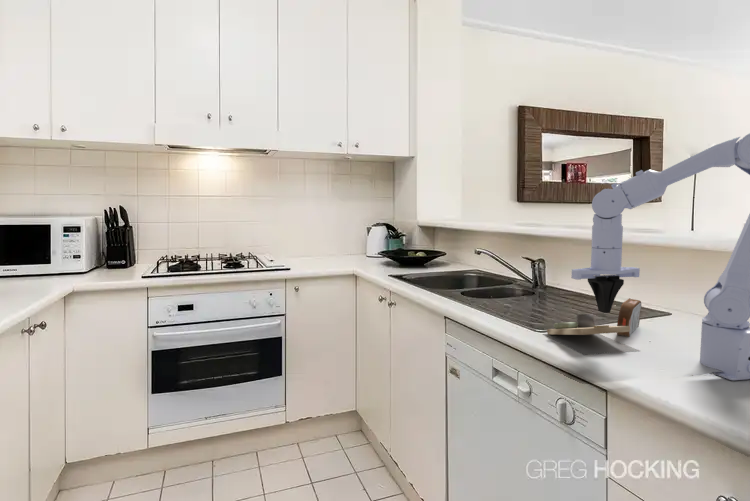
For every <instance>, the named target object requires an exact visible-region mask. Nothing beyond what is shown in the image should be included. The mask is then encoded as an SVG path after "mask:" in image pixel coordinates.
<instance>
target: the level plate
mask: <svg viewBox="0 0 750 501" xmlns="http://www.w3.org/2000/svg"><path fill="white" fill-rule="evenodd" d="M576 320H577V321H569V322H568V321H566V322H555V323H553V328H547V329H546V332H547V333H546V334H557V335H587V334H601V335H603V334H617V333H618V332H630V328H629V326H617V325H616V326H615V325H613V326H611V325H608V324H606V325H595V317H594V313H586V314H585V313H583V314H581V313H580V314H576Z"/></svg>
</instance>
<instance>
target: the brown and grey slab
mask: <svg viewBox="0 0 750 501" xmlns="http://www.w3.org/2000/svg"><path fill="white" fill-rule="evenodd" d="M641 309H642V301H641V300H638V299H636V298H635V299H634V298H627V299H626V300H625V301H624V302H622V304H621V305H620V308H619V312H618V315H617V316H618V317H617V324H616V326H629V328H630V332H618V333H616V335H617V336H621V337H627V338H629V337H630V336H631V335H632V333H634V331H635V330H636V329H637V328H639V326H640V317H641V315H640V314H641Z"/></svg>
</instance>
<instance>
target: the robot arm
mask: <svg viewBox="0 0 750 501" xmlns="http://www.w3.org/2000/svg"><path fill="white" fill-rule="evenodd" d="M740 138H741V136H738V137H735V138H732V139H729V140H725V141H723V142H721V143H717V144H714V145H712V146H710V147H708V148H706V149H704V150H702V151H700V152H698V153H696V154H694V155H692V156H690V157H687V158H686V159H684V160H682V161H680V162H677V163H676V164H673V165H672V166H670V167H668V168H666V169H663V170H661V171H657V170H653V169H647V170H645V171H644V170H642V169H640V170H639V171H636V172H635V176H632V177H630V178H628V179H625V180H624V181H621V182H620V183H617V182H614V183H612V184H611V188H603V189H602V190H601V191H599V192H598V193H596V194H595V195H594V197H593V198H592V202H591V208H592V210H593V212H594V214H593V217H592V221H593V222H592V223H593V225H592V227H591V255H590V267H584V268H573V269H571V279H573V280H577V281H578V280H580V281H581V280H585V279H587V283H588V285H589V286H590V288H591V290H592V292H593V295H594V298H595V301H596V306H597V310H598V312H601V313H603V314H606V313H607V314H609V313H611V311H612V307H613V304H614V301H615V299H616V296H617V294H618V293H619V291H620V290H621V288H622V287H623V286H624V284H625V280H624V279H622V278H632V277H633V278H640V271H641V270H640V267H635V266H622V262H623V261H622V260H623V258H622V257H623V232H624V231H623V230H624V226H623V225H622V224H623V214H622V213H623V212H624V210H625V209H628V210H632V209H635V208H637V207H640V206H641V205H645V204H646V203H648V202H651V201H653V200H656V199H658V198H661V197H662V196H664V194H665V192H666V189H667V187H668V186H670V185H673V184H675V183H678V182H680V181H682V180H685V179H688V178H690V177H692V176H695V175H696V174H697V175H698V174H700V173H701V172H704V171H706V170H709V169H711V168H730V167H732V166H735V167H737V168H739V169H740V170H741V171H743V172H745V173H746V174H747V175H749V176H750V132H749V133H748V134H746V135H744V136H743V137H742V138H741V139H740ZM703 303H704V307H705V308H706V309H707V311H708V313H707V314H706V315H705V316H704V317H702V318H701V331H700V332H701V333H700V352H699V362H700V364H701V365H703V366H706V367H708V368H711V369H714V370H719V371H714V372H712V371H711V372H710V373H711V374H713V375H717V376H719V377H721V378H724V379H726V380H728V381H742V380H743V381H744V380H750V322H749V319H750V213H749V215H748V216H747V219H746V220H745V223H744V226H743V228H742V230H741V231H740V234H739V237H738V239H737V241H736V243H735V246H734V248H733V250H732V253H731V255H730V257H729V259H728V261H727V264H726V265H725V268H724V270H723V272H722V273H721V274H720V276H718V279H717V281H716V283H715V284H714V285H713V286H712V287H711V288H710V289H708V290H707V291H706V293H705V294H704V297H703Z"/></svg>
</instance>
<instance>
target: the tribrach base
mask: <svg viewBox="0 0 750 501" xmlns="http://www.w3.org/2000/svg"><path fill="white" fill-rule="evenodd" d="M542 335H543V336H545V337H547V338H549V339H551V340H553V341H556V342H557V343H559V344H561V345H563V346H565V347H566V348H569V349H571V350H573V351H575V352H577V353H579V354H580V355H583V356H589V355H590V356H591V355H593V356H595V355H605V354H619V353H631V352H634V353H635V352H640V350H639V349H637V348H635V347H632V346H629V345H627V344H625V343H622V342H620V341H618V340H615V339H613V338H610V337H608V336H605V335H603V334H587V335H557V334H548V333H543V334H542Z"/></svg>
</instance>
